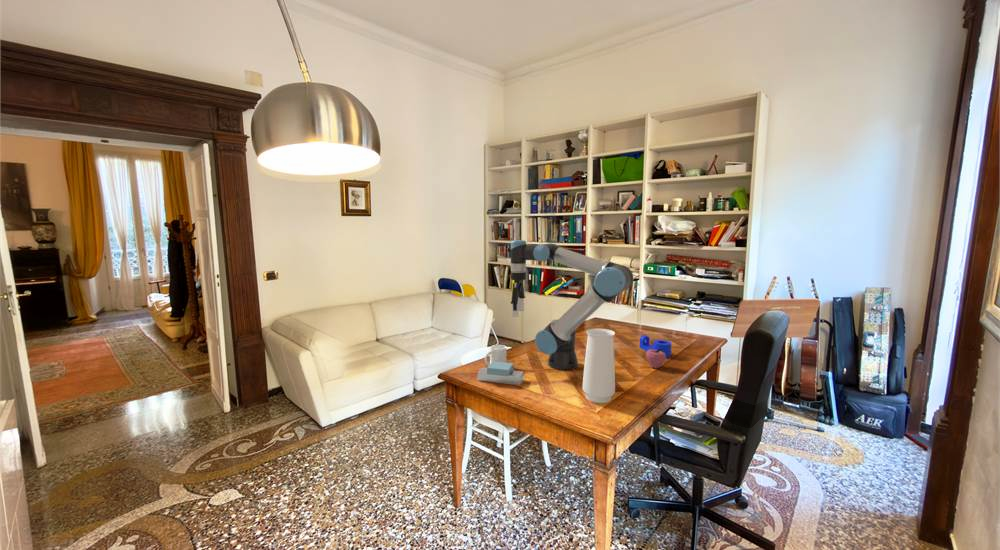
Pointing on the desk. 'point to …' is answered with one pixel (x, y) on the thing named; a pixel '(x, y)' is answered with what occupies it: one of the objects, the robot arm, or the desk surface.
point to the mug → (496, 354)
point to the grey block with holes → (501, 377)
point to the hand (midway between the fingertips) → (518, 313)
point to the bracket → (656, 345)
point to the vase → (599, 366)
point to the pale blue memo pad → (500, 368)
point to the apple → (655, 358)
